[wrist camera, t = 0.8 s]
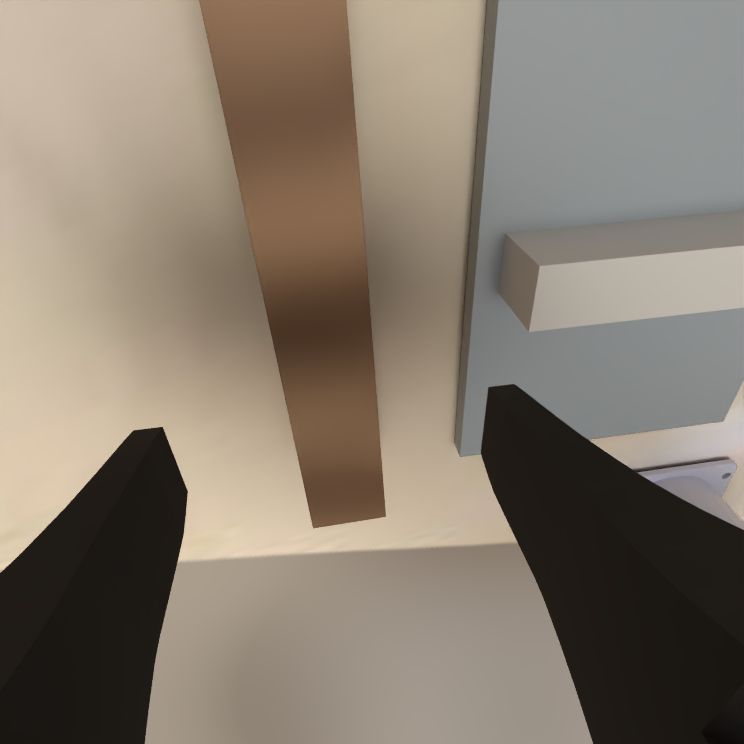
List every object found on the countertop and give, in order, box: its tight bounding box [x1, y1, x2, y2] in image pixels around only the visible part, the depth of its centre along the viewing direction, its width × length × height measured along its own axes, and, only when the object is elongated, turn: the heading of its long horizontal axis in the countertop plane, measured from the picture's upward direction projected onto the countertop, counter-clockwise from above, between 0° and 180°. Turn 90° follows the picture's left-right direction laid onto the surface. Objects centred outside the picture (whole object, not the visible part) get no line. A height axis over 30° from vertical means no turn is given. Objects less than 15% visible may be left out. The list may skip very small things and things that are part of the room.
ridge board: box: [455, 0, 744, 457], centre depth 18 cm, size 20×14×4 cm
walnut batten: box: [199, 0, 386, 528], centre depth 17 cm, size 18×3×5 cm, turn 4°
